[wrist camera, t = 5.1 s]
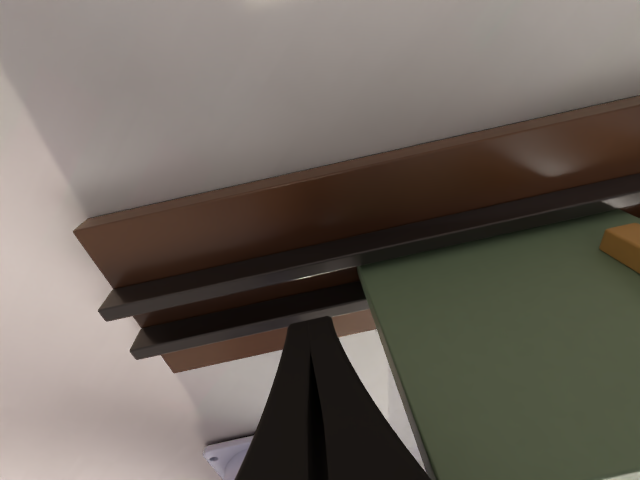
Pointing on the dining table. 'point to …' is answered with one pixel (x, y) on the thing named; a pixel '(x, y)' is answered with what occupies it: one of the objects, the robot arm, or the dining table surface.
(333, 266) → the door track
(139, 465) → the dining table surface
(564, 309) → the sliding door
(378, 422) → the robot arm
